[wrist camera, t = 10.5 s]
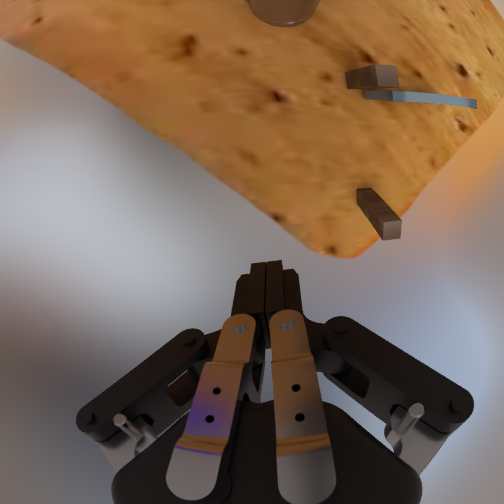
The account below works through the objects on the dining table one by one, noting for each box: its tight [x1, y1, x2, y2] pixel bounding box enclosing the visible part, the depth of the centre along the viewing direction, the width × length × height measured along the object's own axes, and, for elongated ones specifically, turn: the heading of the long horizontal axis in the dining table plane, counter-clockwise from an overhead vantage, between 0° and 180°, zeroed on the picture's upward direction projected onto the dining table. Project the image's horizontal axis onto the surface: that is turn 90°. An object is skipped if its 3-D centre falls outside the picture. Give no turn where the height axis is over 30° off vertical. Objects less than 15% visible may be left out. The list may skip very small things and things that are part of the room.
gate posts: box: [345, 64, 402, 240], centre depth 31 cm, size 21×2×12 cm, turn 10°
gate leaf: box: [365, 91, 477, 109], centre depth 26 cm, size 13×1×10 cm, turn 101°
